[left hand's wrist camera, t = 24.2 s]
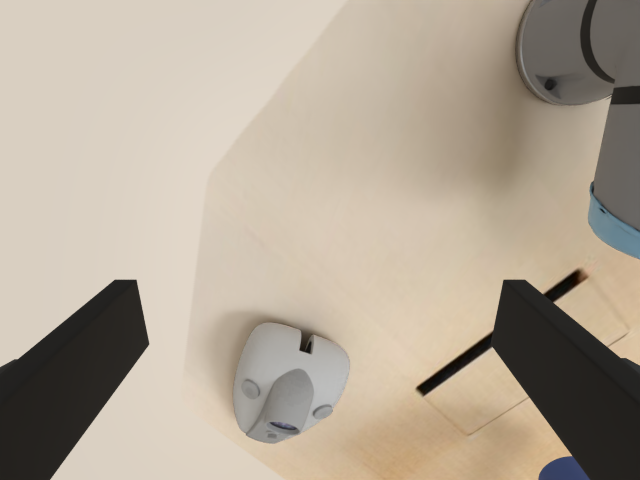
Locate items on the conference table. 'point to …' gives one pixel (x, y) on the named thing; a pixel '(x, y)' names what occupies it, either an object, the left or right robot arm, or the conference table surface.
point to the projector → (286, 382)
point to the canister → (563, 470)
